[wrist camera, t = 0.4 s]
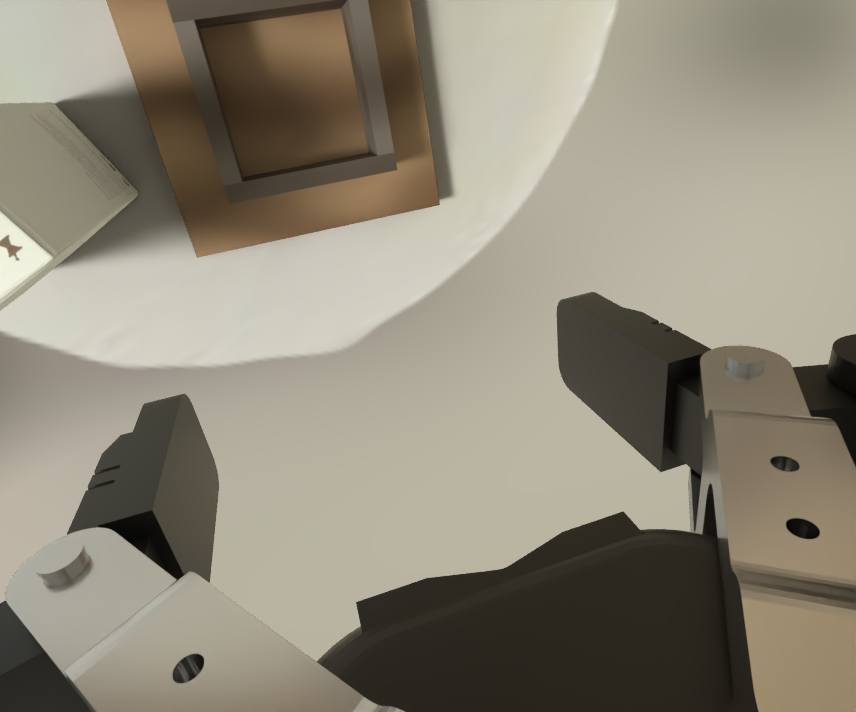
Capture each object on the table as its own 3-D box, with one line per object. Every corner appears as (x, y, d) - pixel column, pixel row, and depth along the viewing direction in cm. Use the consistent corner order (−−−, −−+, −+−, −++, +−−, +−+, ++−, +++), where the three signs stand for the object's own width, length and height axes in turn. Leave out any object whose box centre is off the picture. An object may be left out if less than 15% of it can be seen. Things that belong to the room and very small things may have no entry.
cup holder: (95, -47, 28) (68, -74, 24) (391, -81, 31) (410, -110, 27) (199, 252, 35) (191, 269, 31) (433, 201, 38) (453, 211, 34)
